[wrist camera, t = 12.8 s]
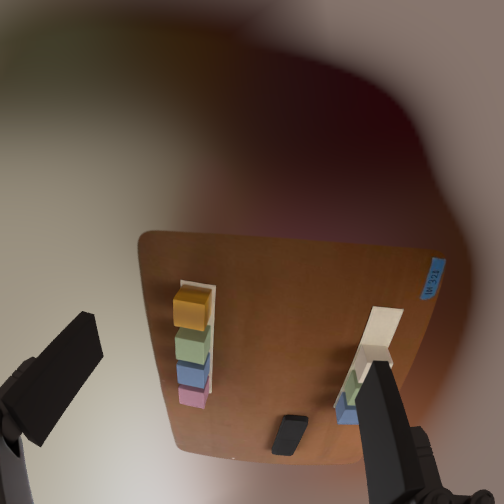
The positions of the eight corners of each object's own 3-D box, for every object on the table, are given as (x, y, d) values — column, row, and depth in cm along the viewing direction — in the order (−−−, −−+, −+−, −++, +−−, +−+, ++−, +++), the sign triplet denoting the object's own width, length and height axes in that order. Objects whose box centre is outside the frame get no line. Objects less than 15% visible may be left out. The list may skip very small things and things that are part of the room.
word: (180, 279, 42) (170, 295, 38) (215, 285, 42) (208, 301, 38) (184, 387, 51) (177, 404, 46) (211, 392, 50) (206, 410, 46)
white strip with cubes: (373, 306, 40) (380, 323, 36) (403, 309, 40) (413, 326, 36) (332, 407, 49) (334, 425, 45) (358, 408, 49) (361, 425, 44)
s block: (182, 283, 42) (172, 299, 38) (212, 288, 42) (204, 304, 38) (183, 309, 44) (173, 325, 40) (211, 314, 44) (204, 331, 39)
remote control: (284, 412, 51) (270, 450, 56) (284, 418, 49) (270, 456, 55) (309, 414, 51) (292, 452, 56) (309, 421, 49) (292, 458, 54)
